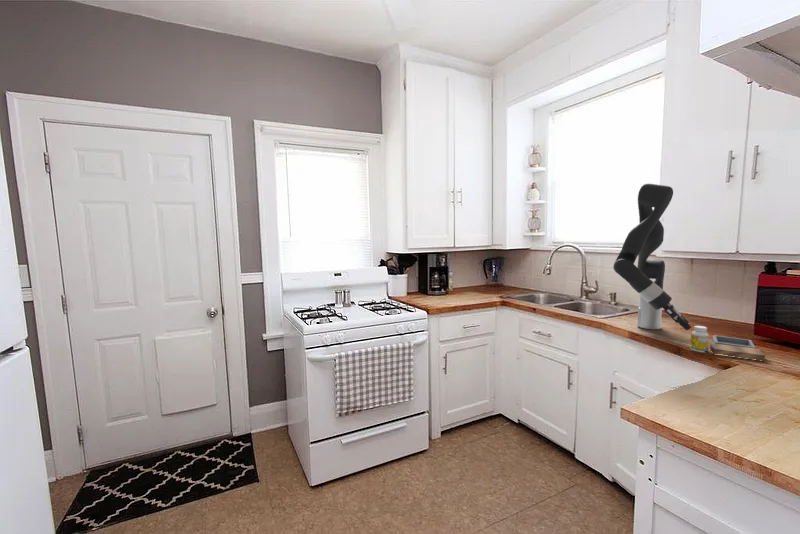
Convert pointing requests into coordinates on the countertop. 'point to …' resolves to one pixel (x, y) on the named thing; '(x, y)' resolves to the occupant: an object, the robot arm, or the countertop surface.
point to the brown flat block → (737, 351)
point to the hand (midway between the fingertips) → (687, 326)
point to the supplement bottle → (699, 339)
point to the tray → (733, 341)
